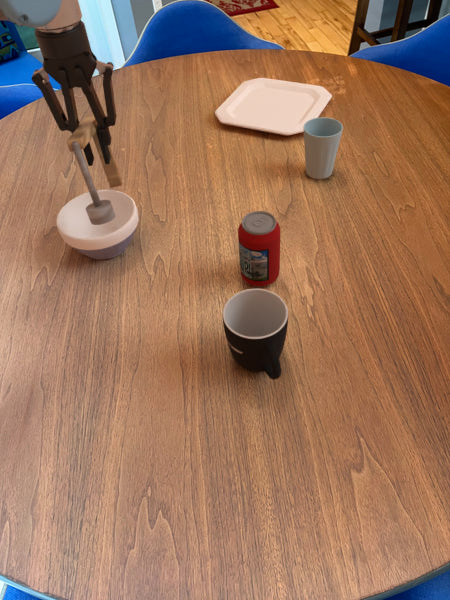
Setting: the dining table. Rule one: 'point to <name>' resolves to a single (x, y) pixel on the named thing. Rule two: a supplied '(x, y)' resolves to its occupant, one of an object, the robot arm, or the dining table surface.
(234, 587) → the dining table surface
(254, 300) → the mug
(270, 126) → the plate
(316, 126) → the cup
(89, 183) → the ladle
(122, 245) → the bowl
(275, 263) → the beverage can
